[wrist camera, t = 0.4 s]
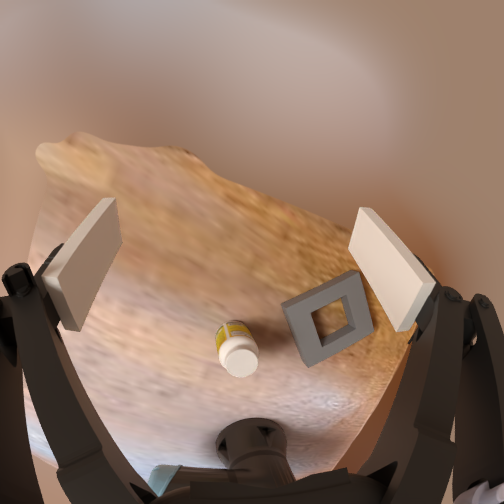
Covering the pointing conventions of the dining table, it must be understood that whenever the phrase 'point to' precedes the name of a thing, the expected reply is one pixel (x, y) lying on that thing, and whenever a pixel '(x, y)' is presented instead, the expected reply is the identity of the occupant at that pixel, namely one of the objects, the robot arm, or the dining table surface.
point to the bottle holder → (304, 304)
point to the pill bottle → (237, 349)
